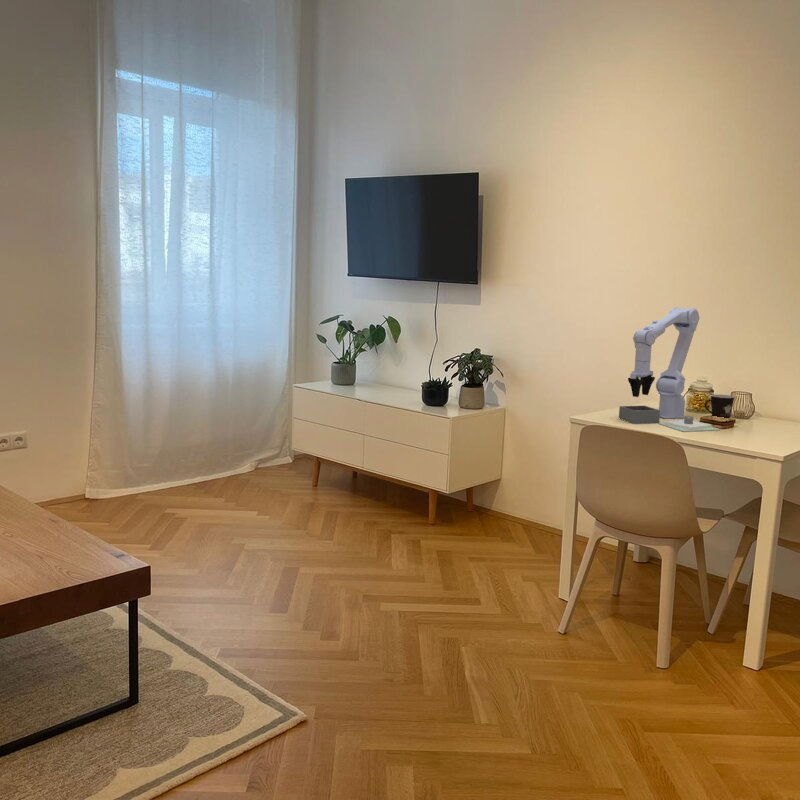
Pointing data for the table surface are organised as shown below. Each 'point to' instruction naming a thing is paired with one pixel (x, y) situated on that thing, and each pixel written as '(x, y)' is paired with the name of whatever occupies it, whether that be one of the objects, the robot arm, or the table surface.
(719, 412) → the coffee mug
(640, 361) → the robot arm
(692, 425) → the lid
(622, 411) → the box
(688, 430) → the mat
